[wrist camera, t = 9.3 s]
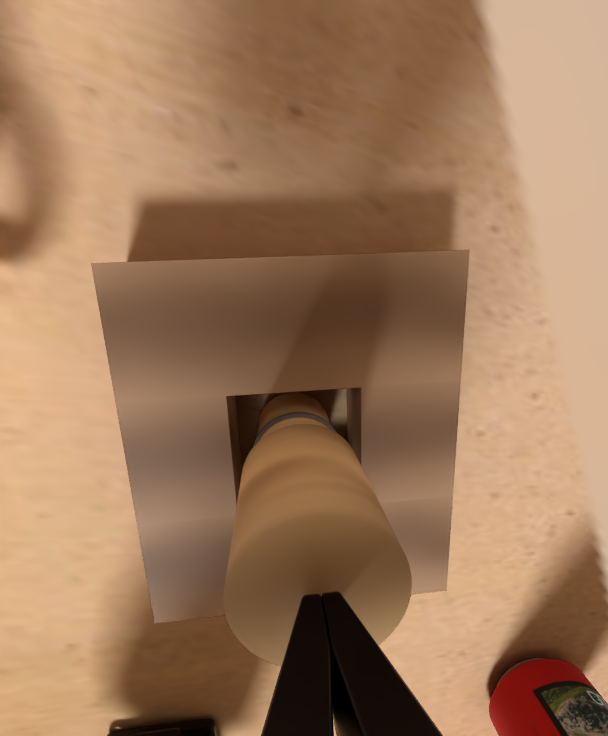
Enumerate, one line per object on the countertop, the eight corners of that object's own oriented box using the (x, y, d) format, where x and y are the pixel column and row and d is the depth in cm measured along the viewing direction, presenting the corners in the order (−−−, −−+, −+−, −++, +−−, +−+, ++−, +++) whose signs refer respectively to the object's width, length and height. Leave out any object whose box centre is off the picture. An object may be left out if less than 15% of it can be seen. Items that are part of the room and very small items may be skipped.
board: (421, 546, 20) (446, 590, 17) (172, 571, 19) (154, 623, 16) (434, 255, 16) (469, 249, 14) (125, 267, 15) (91, 263, 12)
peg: (337, 461, 19) (408, 657, 9) (252, 468, 18) (231, 680, 8) (335, 381, 17) (415, 503, 8) (246, 387, 17) (213, 522, 7)
